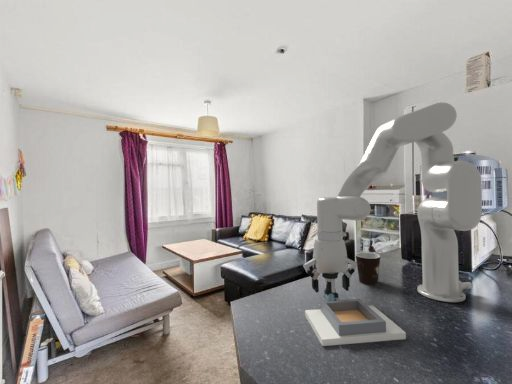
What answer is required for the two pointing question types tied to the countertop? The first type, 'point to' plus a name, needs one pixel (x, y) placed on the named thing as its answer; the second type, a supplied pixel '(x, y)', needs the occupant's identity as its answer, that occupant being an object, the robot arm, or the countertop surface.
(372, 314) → the dock board
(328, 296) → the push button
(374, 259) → the coffee mug
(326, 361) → the countertop surface
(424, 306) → the countertop surface
